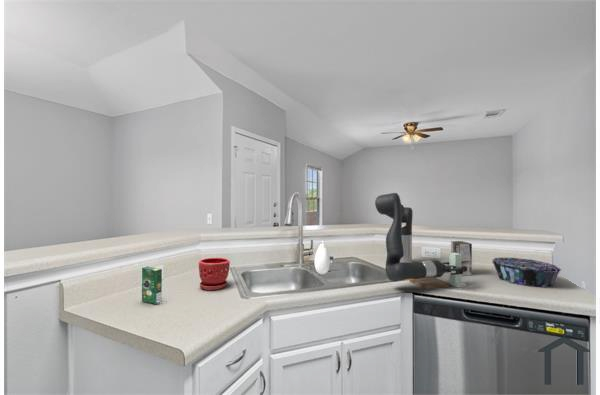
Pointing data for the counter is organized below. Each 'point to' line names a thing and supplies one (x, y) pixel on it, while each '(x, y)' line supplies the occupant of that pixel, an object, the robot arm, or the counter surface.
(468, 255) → the coffee box
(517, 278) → the decorative bowl
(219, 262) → the plant pot
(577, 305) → the counter surface
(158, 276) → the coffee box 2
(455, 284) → the mint green tall block
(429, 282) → the wooden cutting board
